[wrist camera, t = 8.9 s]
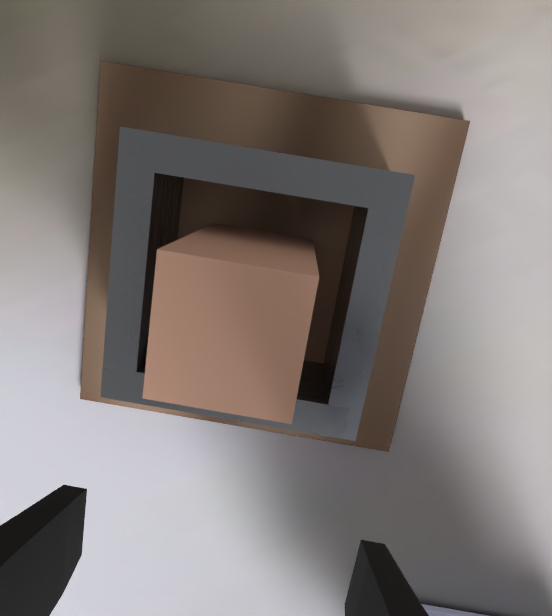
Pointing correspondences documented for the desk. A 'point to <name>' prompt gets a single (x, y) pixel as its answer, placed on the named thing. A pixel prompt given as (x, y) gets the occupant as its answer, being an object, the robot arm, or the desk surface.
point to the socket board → (271, 218)
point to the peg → (231, 321)
